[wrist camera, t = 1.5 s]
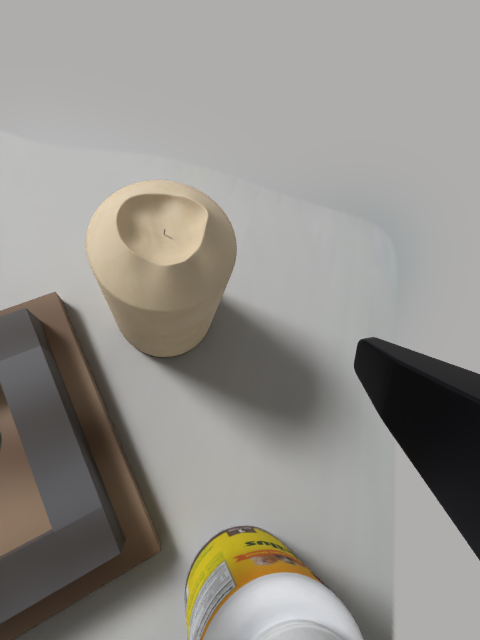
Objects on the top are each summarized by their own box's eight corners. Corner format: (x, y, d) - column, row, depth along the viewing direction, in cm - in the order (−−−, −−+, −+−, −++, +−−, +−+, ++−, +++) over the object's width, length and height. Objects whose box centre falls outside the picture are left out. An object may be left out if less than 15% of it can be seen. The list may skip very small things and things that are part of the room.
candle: (198, 262, 23) (220, 145, 14) (222, 345, 22) (264, 279, 12) (108, 279, 22) (62, 161, 12) (128, 369, 20) (93, 315, 11)
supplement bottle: (312, 565, 19) (457, 699, 10) (250, 677, 17) (354, 988, 8) (229, 497, 19) (289, 563, 10) (159, 602, 17) (148, 810, 8)
